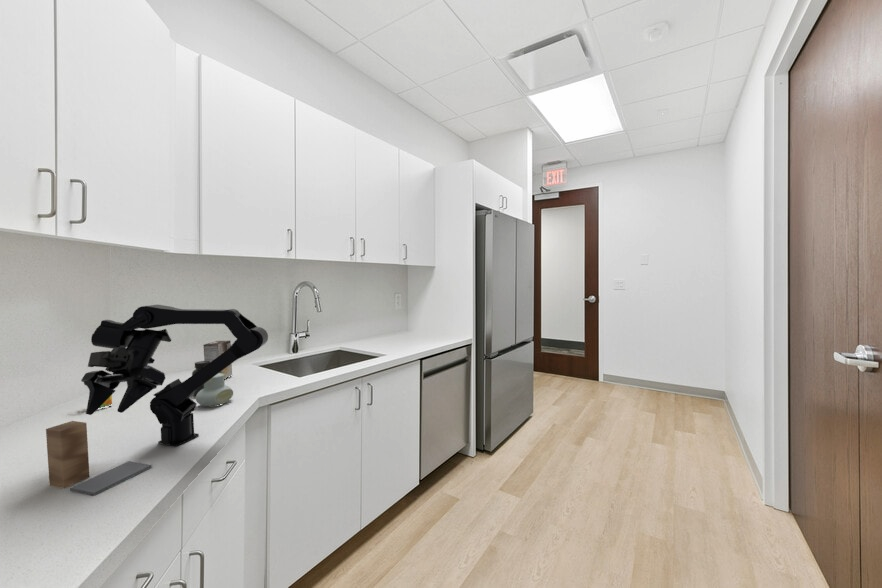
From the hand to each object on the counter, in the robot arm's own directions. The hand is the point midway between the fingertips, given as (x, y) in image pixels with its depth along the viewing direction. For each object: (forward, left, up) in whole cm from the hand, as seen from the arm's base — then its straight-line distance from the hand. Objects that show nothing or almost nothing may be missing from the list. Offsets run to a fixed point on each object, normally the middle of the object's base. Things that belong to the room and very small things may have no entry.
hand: (103, 413), depth 83 cm
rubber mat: (+3, +7, -12) cm, 15 cm away
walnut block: (+6, -1, -12) cm, 14 cm away
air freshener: (-40, -12, -13) cm, 43 cm away
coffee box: (-65, -37, -13) cm, 75 cm away
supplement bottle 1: (-28, -47, -13) cm, 56 cm away
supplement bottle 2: (-48, -26, -13) cm, 56 cm away
